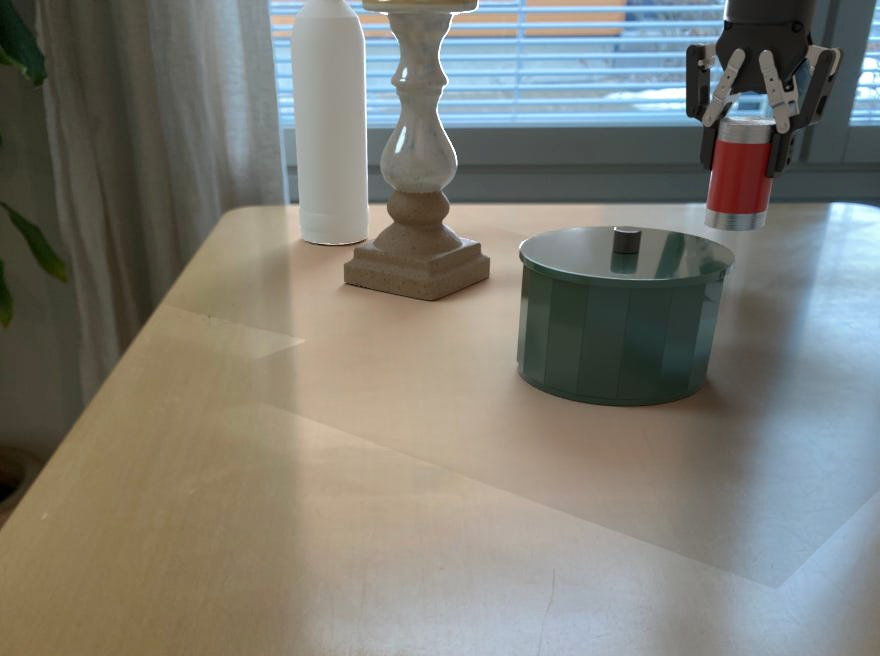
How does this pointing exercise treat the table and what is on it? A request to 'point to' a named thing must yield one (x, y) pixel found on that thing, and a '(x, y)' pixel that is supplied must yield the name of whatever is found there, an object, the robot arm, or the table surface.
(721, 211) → the can
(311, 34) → the bottle
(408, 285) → the candle holder
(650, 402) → the pot
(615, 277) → the pot lid
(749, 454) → the table surface
